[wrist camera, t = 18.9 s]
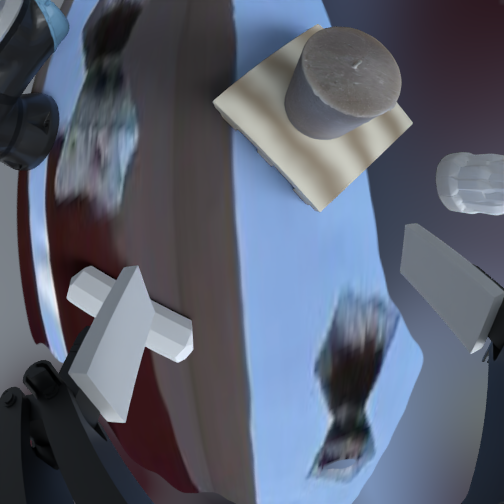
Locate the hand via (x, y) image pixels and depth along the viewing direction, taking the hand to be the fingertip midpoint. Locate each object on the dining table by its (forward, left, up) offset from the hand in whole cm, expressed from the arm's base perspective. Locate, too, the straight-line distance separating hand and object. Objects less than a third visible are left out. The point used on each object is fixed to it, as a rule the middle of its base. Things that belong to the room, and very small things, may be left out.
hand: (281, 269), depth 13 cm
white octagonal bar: (-26, +3, -30) cm, 40 cm away
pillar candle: (+16, +6, -24) cm, 29 cm away
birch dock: (+16, +6, -29) cm, 34 cm away
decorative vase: (+31, -19, -30) cm, 47 cm away
